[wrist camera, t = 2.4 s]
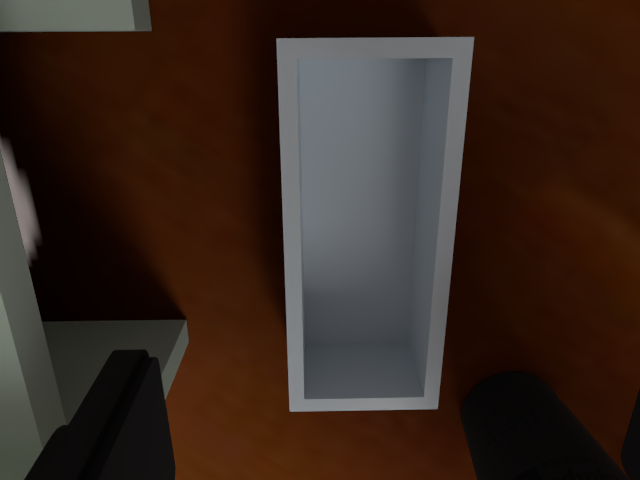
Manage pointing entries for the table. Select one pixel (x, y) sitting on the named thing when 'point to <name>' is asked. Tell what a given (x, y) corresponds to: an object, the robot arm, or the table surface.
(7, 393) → the shelf slot
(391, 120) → the tray
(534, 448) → the drinking cup
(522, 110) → the table surface
